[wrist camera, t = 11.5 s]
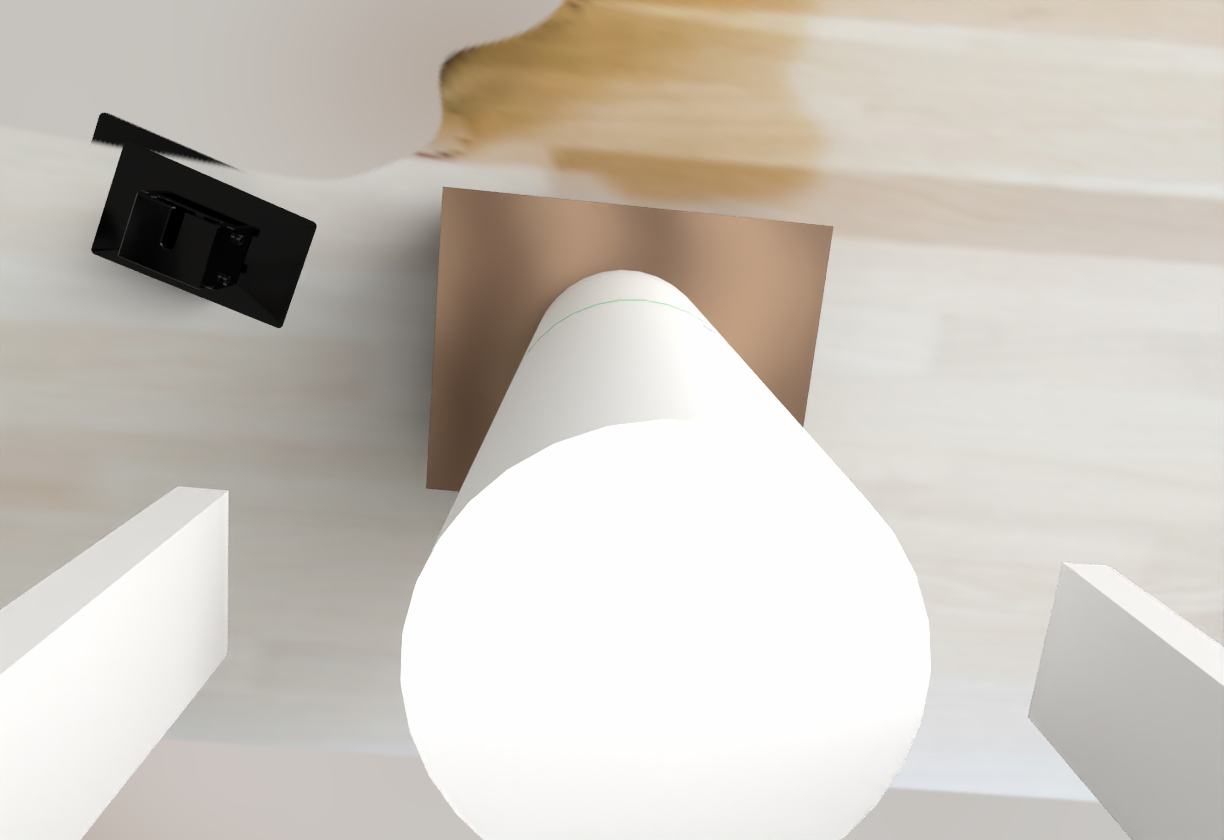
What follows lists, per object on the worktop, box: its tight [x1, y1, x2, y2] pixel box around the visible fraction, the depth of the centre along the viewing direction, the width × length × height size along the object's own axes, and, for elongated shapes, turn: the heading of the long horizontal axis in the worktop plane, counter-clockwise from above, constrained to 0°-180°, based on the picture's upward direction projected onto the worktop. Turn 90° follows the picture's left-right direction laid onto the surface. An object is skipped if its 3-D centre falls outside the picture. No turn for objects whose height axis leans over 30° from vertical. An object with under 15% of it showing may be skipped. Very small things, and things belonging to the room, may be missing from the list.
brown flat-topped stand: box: [426, 187, 833, 491], centre depth 41 cm, size 15×12×8 cm
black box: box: [91, 113, 317, 328], centre depth 42 cm, size 12×7×5 cm, turn 66°
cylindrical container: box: [400, 270, 931, 840], centre depth 25 cm, size 7×7×25 cm
